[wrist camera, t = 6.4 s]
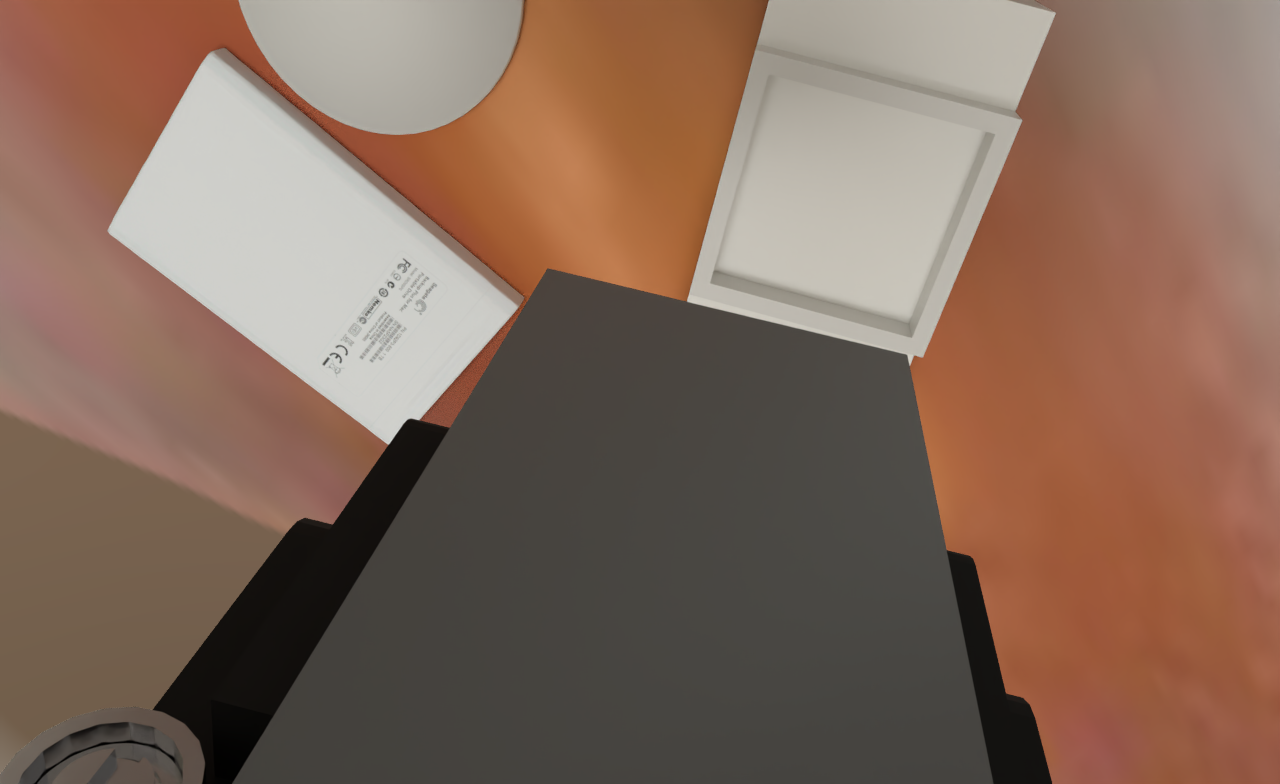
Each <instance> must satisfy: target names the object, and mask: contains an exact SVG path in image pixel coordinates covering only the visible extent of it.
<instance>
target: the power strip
mask: <svg viewBox="0 0 1280 784" xmlns="http://www.w3.org/2000/svg"><path fill="white" fill-rule="evenodd" d="M1055 14H1056V13H1055V12H1054V11H1052V10H1050V9H1048V8H1047V7H1045V6H1043V5H1041V4H1040V3H1038V2H1036V1H1035V0H769V2H768V6H767V9H766V13H765V17H764V21H763V24H762V28H761V32H760V35H759V39H758V43H757V46H756V49H755V53H754V57H753V60H752V64H751V68H750V71H749V75H748V79H747V82H746V86H745V90H744V94H743V97H742V101H741V105H740V108H739V112H738V116H737V119H736V123H735V127H734V130H733V134H732V138H731V141H730V145H729V149H728V152H727V156H726V160H725V163H724V167H723V171H722V174H721V178H720V182H719V185H718V189H717V193H716V196H715V200H714V204H713V207H712V211H711V215H710V219H709V222H708V226H707V230H706V233H705V237H704V241H703V244H702V248H701V252H700V255H699V259H698V263H697V266H696V270H695V274H694V277H693V281H692V285H691V288H690V292H689V296H688V300H687V302H690V303H694V304H698V305H702V306H707V307H711V308H715V309H719V310H723V311H727V312H732V313H736V314H740V315H744V316H748V317H752V318H757V319H761V320H765V321H769V322H773V323H777V324H782V325H786V326H790V327H794V328H798V329H802V330H807V331H811V332H815V333H819V334H823V335H827V336H832V337H836V338H840V339H844V340H848V341H852V342H857V343H861V344H865V345H869V346H873V347H877V348H882V349H886V350H890V351H894V352H898V353H902V354H907V356H908V361H909V366H910V364H911V362H912V359H913V357H914V355H915V356H918V357H922V358H923V356H924V353H925V351H926V349H927V346H928V344H929V342H930V339H931V337H932V334H933V332H934V330H935V327H936V325H937V322H938V320H939V318H940V315H941V313H942V311H943V308H944V306H945V303H946V301H947V299H948V296H949V294H950V292H951V289H952V287H953V284H954V282H955V280H956V277H957V275H958V272H959V270H960V268H961V265H962V263H963V261H964V258H965V256H966V253H967V251H968V249H969V246H970V244H971V242H972V239H973V237H974V234H975V232H976V230H977V227H978V225H979V222H980V220H981V218H982V215H983V213H984V211H985V208H986V206H987V203H988V201H989V199H990V196H991V194H992V192H993V189H994V187H995V184H996V182H997V180H998V177H999V175H1000V172H1001V170H1002V168H1003V165H1004V163H1005V161H1006V158H1007V156H1008V153H1009V151H1010V149H1011V146H1012V144H1013V142H1014V139H1015V137H1016V134H1017V132H1018V130H1019V127H1020V125H1021V122H1022V119H1021V118H1020V117H1019V115H1018V114H1017V113H1016V112H1015V111H1016V108H1017V106H1018V104H1019V101H1020V99H1021V96H1022V94H1023V91H1024V89H1025V87H1026V84H1027V82H1028V79H1029V77H1030V75H1031V72H1032V70H1033V67H1034V65H1035V63H1036V60H1037V58H1038V55H1039V53H1040V50H1041V48H1042V46H1043V43H1044V41H1045V38H1046V36H1047V34H1048V31H1049V29H1050V26H1051V24H1052V21H1053V19H1054V17H1055Z"/></svg>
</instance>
